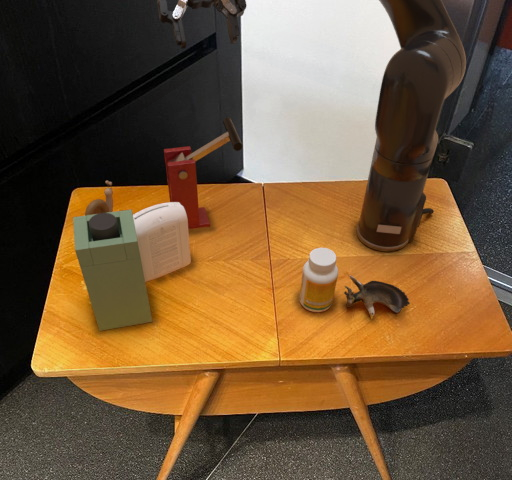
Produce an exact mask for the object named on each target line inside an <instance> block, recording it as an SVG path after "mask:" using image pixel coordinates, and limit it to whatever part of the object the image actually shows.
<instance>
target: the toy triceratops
mask: <svg viewBox="0 0 512 480" xmlns="http://www.w3.org/2000/svg"><path fill="white" fill-rule="evenodd" d="M348 277H349V279H350V280H351V282H353V284H354V285H355V286H356V287H357V289H358V291H357V292H355V293H354V291H353V289H352V288H350V287H349V286H347V285H344V288H345V289H346V290H347V291H344V295H345V297H346V304H345V307H346V308H347V307H352V306H353V305H354V304H356V303H360V302H362V303H363V305H364V307H365V308H366V309H367V311H368V314H369V317H370V320H373V319H374V316H375V308H374V304H375V303H379V304H382V305H383V306H385V307H387V308H389V309H390V310H391V311H393V312H394V313H396V314H398V313H401V310H402V309H404V308H405V307H408V305H410V304H411V303H410V302H409V297H408V295H407V294H406V292H404V291H403V290H402V289H400V288H399V287H397V286H396V285H394V284H391V283H387V282H383V281H379V280H370V281H368V282H366V283H364V284H363V283H362V282H360V281H359V280H357V279H356V277H354V276H353V275H351V274H349V275H348Z"/></svg>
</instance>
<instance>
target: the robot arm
mask: <svg viewBox="0 0 512 480" xmlns="http://www.w3.org/2000/svg"><path fill="white" fill-rule="evenodd" d="M156 1H157V3H156V4H157V9H158V16H159V21H160V23H162V24H165V23H168V24H170V25H171V26H172V31H173V34H174V40H175V43H176V45H177V46H179V47H180V49H181V50H185V49H186V48H187V38H186V33H185V29H184V28H185V27H184V23H183V19H182V18H183V17H184V14H185V12H186V11H187V8H188V7H189V8H191V10H196V9H199V8H205V9H209V8H212V6H213V8H215V9H216V10H217V12H219V13H221V14H222V15H223V16H224V17H225V18H226V19H227V20H226V26H227V31H228V36H229V42H230V45H235V44H236V43H237V41H238V40H239V37H240V26H239V22H238V17H242V16H244V13H245V11H246V8H247V1H246V0H233V3H232V2H231V0H177V4H176V6H175V7H174V10H173V11H172V10H169V9H168V8H169V7H168V0H156ZM378 1H379V2H380V4H381V6H382V7H383V9H385V12H386V13H387V15H388V18H389V20H390V22H391V25H392V27H393V30H394V32H395V35H396V38H397V41H398V44H399V47H400V49H399V50H398V51H396V52H395V53H394V54H393V55H392V56H391V58H390V59H389V60H388V62H387V64H386V67H385V68H384V72H383V75H382V79H381V84H380V88H379V89H380V90H379V95H378V101H377V107H376V113H375V119H374V121H375V122H374V123H375V124H374V131H375V136H376V137H375V138H376V139H375V143H374V149H373V153H372V156H371V162H370V167H369V172H368V177H367V182H366V186H365V191H364V196H363V201H362V205H361V210H360V216H359V219H358V223H357V227H356V236H357V238H358V239H359V241H360V242H361V244H363V245H365V246H366V247H367V248H370V249H372V250H376V251H379V252H395V251H399V250H401V249H403V248H405V247H407V245H408V244H409V243H413V242H414V238H415V236H416V233H417V229H418V228H419V227H420V224H421V221H422V218H423V215H426V214H427V215H428V214H429V215H432V214H434V212H435V210H434V209H433V208H431V207H426V208H425V204H426V201H427V195H426V194H425V192H424V190H425V186H426V183H427V180H428V176H429V173H430V170H431V166H432V164H433V160H434V156H435V153H436V150H437V147H438V144H439V133H438V132H437V130H436V129H437V124H438V121H439V117H440V114H441V110H442V108H443V107H442V106H443V104H444V101H445V100H446V99H447V98H448V97H449V96H451V94H452V93H453V92H455V90H456V89H457V88H458V87H459V86H460V84H461V83H462V81H463V79H464V76H465V73H466V70H467V69H466V68H467V67H466V66H467V57H466V51H465V48H464V45H463V41H462V39H461V38H460V35H459V33H458V32H457V28H456V27H455V25H454V23H453V21H452V19H451V17H450V15H449V12H448V11H447V9H446V6H445V5H444V2H443V0H378Z"/></svg>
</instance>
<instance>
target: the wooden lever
mask: <svg viewBox="0 0 512 480" xmlns="http://www.w3.org/2000/svg"><path fill="white" fill-rule="evenodd" d="M222 124H223V126H224V128H225V131H226V132H224V133H222V134H221V135H219V136H218V137H216V138H214V139H212V140H211V141H209V142H208V143H206V144H205V145H203V146H201V147H200V148H198V149H196V150H195V151H193V152H191V154H190V155H188V156H187V157H186V156H185V155H184V154H183V153H181V154H179V155H177V156H176V157H174V158H173V159H171V160H169V162H176V161H185V160H193V159H194V160H195V162H197V161H199V160H201V159H202V158H203V157H206V156H207V155H208V154H210V153H212V152H213V151H215V150H217V149H219V148H221V147H222V146H224V145H225V144H227V143H229V142H230V143H231V145H232V148H233V150H234V151H236V152H239V151H241V150H242V149H243V143H242V141H241V139H240V136H239V133H238V132H237V129H236V127H235V125H234V123H233V121H232V118H230V117H228V116H227V117H225V118H224V119H223V120H222Z"/></svg>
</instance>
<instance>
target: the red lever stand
mask: <svg viewBox="0 0 512 480" xmlns="http://www.w3.org/2000/svg"><path fill="white" fill-rule="evenodd" d="M181 153H183V154H184V155H185V156H186V157H187V156H188V155H190V154H191V153H192V148H191V146H190V145H189V146H188V145H187V146H180V147H172V148H171V147H170V148H164V149H163V155H164V163H165V169H166V170H165V171H166V180H167V181H166V182H167V189H168V197H169V198H168V199H169V202H179V203H180V204H181V205H182V206H183V207H184V209H185V211H186V214H187V219H188V230H194V229H201V228H208V227H211V223H210V219H209V217H208V213H207V210H206V207H205V206H202V207H199V206H200V205H199V194H198V180H197V178H198V177H197V166H196V161H195V160H194V159H193V160H185V161H176V162H169V160H171V159H173V158H174V157H176V156H177V155H179V154H181Z"/></svg>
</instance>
